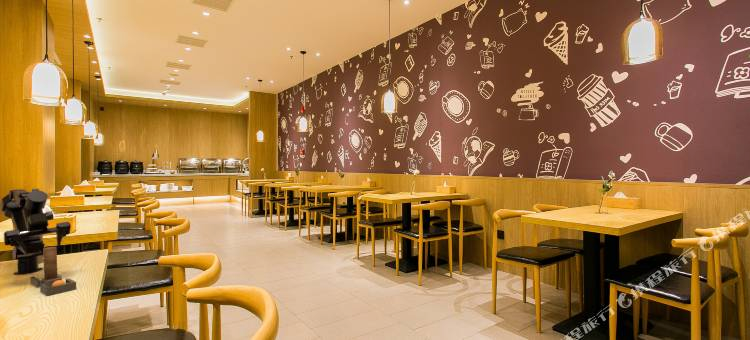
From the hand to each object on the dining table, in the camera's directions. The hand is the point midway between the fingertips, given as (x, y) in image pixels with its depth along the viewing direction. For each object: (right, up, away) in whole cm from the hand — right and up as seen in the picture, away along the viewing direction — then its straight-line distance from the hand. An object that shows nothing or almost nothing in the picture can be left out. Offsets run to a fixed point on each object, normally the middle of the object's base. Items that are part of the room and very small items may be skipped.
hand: (43, 251), depth 138 cm
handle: (-27, -11, +27) cm, 40 cm away
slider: (+7, -12, -4) cm, 14 cm away
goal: (+14, -12, -9) cm, 20 cm away
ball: (+14, -10, -9) cm, 19 cm away
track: (+2, -12, -1) cm, 12 cm away
